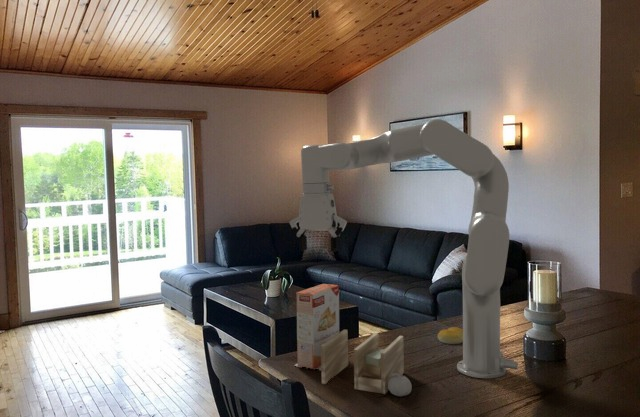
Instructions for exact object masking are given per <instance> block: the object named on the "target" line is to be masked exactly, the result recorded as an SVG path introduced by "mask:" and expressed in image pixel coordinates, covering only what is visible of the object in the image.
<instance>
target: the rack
mask: <svg viewBox="0 0 640 417" xmlns="http://www.w3.org/2000/svg"><path fill="white" fill-rule="evenodd" d="M348 333H349V332H348V329H343V330H341V331H339V333H338V334H337V335H335V336H334V337H332V338H331V339H329V340H328V341H326V342H325V343H323V344H322V345H321V370H320V372H321V384H322V385H326V384H327V383H329V382H330V381H331V380H332V379H333V378H335V377H336V376H337V375H338V374H339V373H341V372H342V371H343V370H344V369H345V368H347V367H348V366H349V346H348V345H349V344H348V342H349V341H348V338H349V336H348ZM377 350H379V333H378V332H374V333H372V334H371V335H370V336H368V338H366V339H365V340H363V341H362V342H361V343H360V344H359V345H358V346H356V347H355V348H354V349H353V376H354V378H353V379H354V383H353V384H354V390H359V391H365V392H371V393H377V394H383V395H386V394H387V393H388V391H389V389H388V382H389V380H390V377H393V376H392V374H394V373H398V374H399V375H403V374H404V373H405V372H404V371H405V367H404V366H405V365H404V364H405V362H404V361H405V360H404V352H405V351H404V336H403V335H399V336H398V337H396V338H395V339H394V340H393V341H392V342H391V343H390V344H389V345H388V346H387V347H386V348H384V350H383V351H382V352H381V380H378V379H371V378H365V377H362V376H363V365H364V364H365V356H366V355H368V354H370V353H373V352H375V351H377ZM334 376H335V377H334ZM395 376H396V375H395ZM331 378H332V379H331ZM330 379H331V380H330ZM329 380H330V381H329ZM328 381H329V382H328Z"/></svg>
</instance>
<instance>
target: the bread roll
mask: <svg viewBox="0 0 640 417" xmlns="http://www.w3.org/2000/svg"><path fill="white" fill-rule="evenodd" d="M437 339H438V341H439V342H441V343H443V344H448V345H459V344H463V328H460V327H457V326H451V327H448V329H442V330H440V331H439V332H438V333H437Z"/></svg>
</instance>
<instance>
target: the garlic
mask: <svg viewBox="0 0 640 417" xmlns="http://www.w3.org/2000/svg"><path fill="white" fill-rule="evenodd" d="M395 375H396V376H395ZM392 376H393V377H390V380H389V382H388V389H389V390H388V391H389V392H390V394H392V395H394V396H396V397H405V396H408V395H410V393H411V392H412V387H413V386H412V383H411V381H410V379H409V378H408V377H407V376H406V375H403V374H402V375H399V374H398V373H394V374H392Z"/></svg>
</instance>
